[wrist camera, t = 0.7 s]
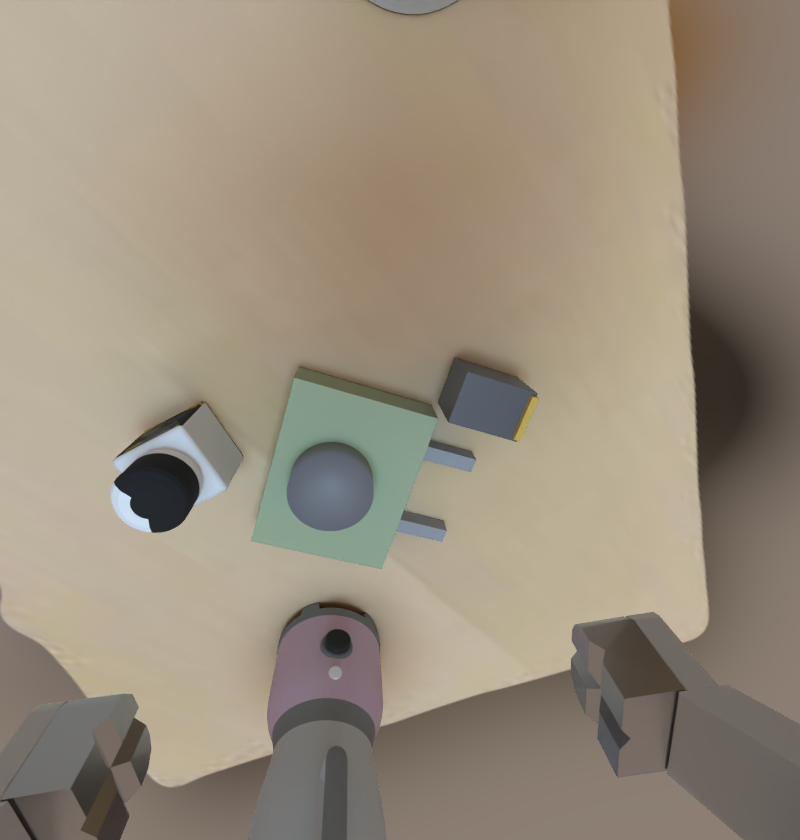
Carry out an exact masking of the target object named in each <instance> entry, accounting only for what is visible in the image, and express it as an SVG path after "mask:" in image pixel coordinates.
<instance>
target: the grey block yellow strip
mask: <svg viewBox="0 0 800 840" xmlns="http://www.w3.org/2000/svg"><path fill="white" fill-rule="evenodd" d="M537 394H538V393H536V392H535V391H534V390H533V389H531V388H530V387H529V386H528V385H526V384H525V383H524V382H523V381H521V380H520V379H519V378H518V377H516V376H512V375H509V374H506V373H503V372H500V371H497V370H493V369H490V368H487V367H484V366H481V365H478V364H474V363H471V362H468V361H465V360H462V359H459V358H454V360H453V363H452V366H451V368H450V371H449V374H448V376H447V379H446V382H445V384H444V387H443V390H442V393H441V395H440V398H439V401H438V404H439V406H440V407H441V409H442V411H443V413H444V415H445V417H446V419H447V421H448V422H449V423H453V424H456V425H460V426H463V427H467V428H470V429H474V430H477V431H481V432H484V433H488V434H491V435H495V436H498V437H502V438H505V439H509V440H512V441H516V442H517V441H520V440H521V438H522V435H523V433H524V431H525V429H526V426H527V424H528V422H529V420H530V417H531V415H532V413H533V411H534V408H535V406H536V404H537V401H538V399H539V398H538V397H536V396H537Z"/></svg>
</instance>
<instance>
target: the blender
mask: <svg viewBox="0 0 800 840" xmlns="http://www.w3.org/2000/svg"><path fill="white" fill-rule="evenodd" d="M382 711H383V695H382V678H381V665H380V642H379V637H378V634H377V631H376V629H375V624H374V622H373V620H372V619H371V617H370V616H369V615H368V614H367V613H364V614H363V615H362V616H361V615H359V614H358V613H355V612H353V611H350V610H346V609H342V608H321V609H320V605H319V603H315V604H311V605H309V606H306V607H305V608H303V610H302V613H301V615H300V616H299V617H297V618H296V619H294V620H293V621H292V622H291V623H290V624H289V625H288V626H287V627H286V628H285V630H284V631H283V633H282V635H281V637H280V641H279V646H278V652H277V660H276V665H275V670H274V675H273V680H272V685H271V690H270V696H269V702H268V710H267V720H268V729H269V733H270V737H271V740H272V743H273V755H272V759H271V763H270V766H269V769H268V772H267V775H266V778H265V781H264V783H263V786H262V790H261V792H260V796H259V799H258V802H257V806H256V809H255V812H254V816H253V820H252V823H251V827H250V831H249V836H248V840H386V830H385V821H384V814H383V808H382V802H381V797H380V791H379V786H378V781H377V774H376V769H375V765H374V760H373V753H372V746H373V742H374V740H375V738H376V735H377V733H378V730H379V727H380V723H381V718H382Z"/></svg>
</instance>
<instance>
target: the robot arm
mask: <svg viewBox="0 0 800 840" xmlns="http://www.w3.org/2000/svg"><path fill="white" fill-rule="evenodd" d="M369 1H371V2H373V3H374V4H376V5H378V6H380V7H382V8H385V9H387V10H390V11H394V12H398V13H404V14H423V13H429V12H433V11H436V10H439V9H442V8H444V7H446V6H448V5H450V4H452V3H454V2H455V1H456V0H369ZM572 642H573V644H574V646H575V647H576V649H577V652H576V653H575V654H574V656H573V657H572V658H571V674H572V679H573V684H574V689H575V691H576V694H577V697H578V700H579V702H580V704H581V706H582V708H583V710H584V712H585V714H586V715H587V716H589V717H590V718H591V719H593V720H594V721H595V722H597V723H598V740H599V742H600V744H601V746H602V748H603V750H604V752H605V754H606V756H607V758H608V760H609V762H610V764H611V766H612V768H613V770H614V772H615V774H616V776H617V777H625V776H632V775H640V774H647V773H654V772H662V771H667V774H668V775H669V776H670V777H671V778H673V779H674V780H675V781H676V782H677V783H678V784H679V785H681V786H682V787H683V788H684V789H685V790H686V791H687V792H689V793H690V794H691V795H692V796H694V798H696V799H697V800H698V801H699V802H700V803H701V804H703V805H704V806H705V807H706V808H707V809H708V810H710V811H711V812H712V813H713V814H714V815H715V816H717V817H718V818H719V819H720V820H721V821H722V822H724V823H725V824H726V825H727V826H728V827H729V828H730V829H732V830H733V831H734V832H735V833H736V834H737V835H739V836H740V837H741V838H742V839H743V840H800V724H799V723H797V722H795V721H793V720H791V719H789V718H788V717H785V716H784V715H782V714H780V713H778V712H777V711H774V710H773V709H771V708H769V707H767V706H765V705H764V704H762V703H760V702H758V701H756V700H755V699H753V698H751V697H749V696H747V695H745V694H744V693H742V692H740V691H738V690H736V689H734V688H732V687H731V686H729V685H718V684H717V683H716V682H715V681H714V680H713V678H712V677H711V676H710V675H709V674H708V672H707V671H706V670H705V669H704V668H703V667H702V665H701V664H700V663H699V662H698V661H697V660H696V658H695V657H694V656H693V655H692V654H691V653H690V651H689V650H688V649H687V648H686V647H685V645H684V644H683V643H682V642H681V641H680V640H679V638H678V637H677V636H676V635H675V634H674V632H673V631H672V630H671V629H670V628H669V627H668V625H667V624H666V623H665V622H664V621H663V620H662V618H661V617H660V616H659V615H657V614H656V613H654V612H650V613H643V614H637V615H631V616H627V617H617V618H611V619H605V620H599V621H593V622H587V623H581V624H575V625H574V627H573V630H572ZM138 708H139V707H138V705H137V703H136V700H135V698H134V696H133V694H118V695H110V696H103V697H95V698H87V699H79V700H71V701H66V702H59V703H51V704H43V705H39V706H38V707H37V708H35V709H34V710H33V711H31V712H30V713H29V714H28V716H27V717H26V718H25V720H24V721H23V723H22V724H21V726H20V727H19V728H18V730H17V731H16V733H15V734H14V735H13V737H12V738H11V740H10V741H9V742H8V744H7V745H6V747H5V748H4V749H3V751H2V752H1V754H0V840H120V839H121V836H122V834H123V831H124V829H125V826H126V823H127V821H128V819H129V812H128V808H127V804H126V802H127V801H128V800H129V799H130V798H131V797H132V796H133V795H134V794H135V793H136V792H137V790H138V789H139V788H140V787H141V786H142V783H143V781H144V778H145V775H146V773H147V770H148V766H149V760H150V753H151V741H150V734H149V731H148V729H147V726H146V725H145V724H144V723H142V722H140V721H139V720H137V719H135V718H134V716H135V714H136V712H137V710H138Z"/></svg>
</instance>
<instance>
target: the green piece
mask: <svg viewBox="0 0 800 840" xmlns="http://www.w3.org/2000/svg"><path fill="white" fill-rule="evenodd" d="M437 421H438V417H437V415H436V413H435V411H434V409H433V407H432V406H431V405H428V404H425V403H421V402H418V401H414V400H411V399H407V398H404V397H401V396H397V395H394V394H390V393H387V392H383V391H380V390H376V389H373V388H370V387H366V386H363V385H359V384H356V383H352V382H349V381H346V380H342V379H339V378H335V377H332V376H328V375H325V374H322V373H318V372H315V371H311V370H308V369H304V368H301V367H299V369H298V371H297V373H296V375H295V377H294V381H293V384H292V388H291V392H290V396H289V400H288V403H287V407H286V411H285V415H284V418H283V422H282V426H281V430H280V434H279V437H278V441H277V445H276V449H275V452H274V456H273V460H272V464H271V468H270V471H269V475H268V479H267V483H266V486H265V490H264V494H263V498H262V502H261V505H260V509H259V513H258V517H257V520H256V524H255V528H254V532H253V536H252V539H251V541H253V542H258V543H263V544H267V545H272V546H277V547H281V548H286V549H290V550H295V551H300V552H304V553H309V554H314V555H318V556H323V557H328V558H332V559H337V560H341V561H346V562H351V563H355V564H360V565H365V566H369V567H374V568H379V569H382V567H383V564H384V562H385V559H386V556H387V554H388V551H389V548H390V546H391V543H392V540H393V538H394V535H395V532H396V531H398V532H402V533H407V534H411V535H415V536H419V537H424V538H428V539H432V540H437V541H441V542H442V540H443V538H444V536H445V533H446V531H447V530H446V527H445V524H444V521H442V520H438V519H434V518H430V517H426V516H422V515H418V514H413V513H409V512H405V511H404V508H405V506H406V503H407V500H408V498H409V495H410V492H411V490H412V487H413V484H414V482H415V479H416V476H417V474H418V471H419V469H420V466H421V463H422V461H423V459H424V460H428V461H431V462H435V463H439V464H443V465H446V466H450V467H454V468H458V469H461V470H465V471H469V472H471V471H472V468H473V466H474V463H475V461H476V459H475V457H474V455H473V453H472V452H470V451H467V450H463V449H459V448H456V447H452V446H449V445H445V444H441V443H438V442H434V441H430V439H431V437H432V434H433V431H434V429H435V426H436V423H437Z"/></svg>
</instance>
